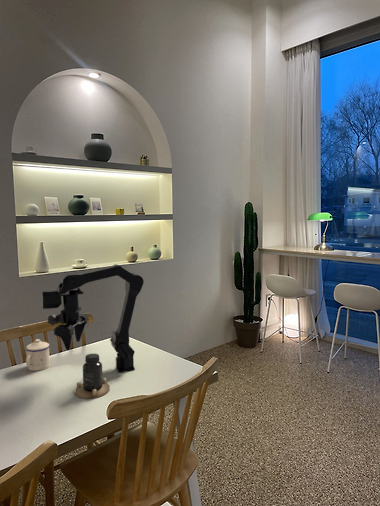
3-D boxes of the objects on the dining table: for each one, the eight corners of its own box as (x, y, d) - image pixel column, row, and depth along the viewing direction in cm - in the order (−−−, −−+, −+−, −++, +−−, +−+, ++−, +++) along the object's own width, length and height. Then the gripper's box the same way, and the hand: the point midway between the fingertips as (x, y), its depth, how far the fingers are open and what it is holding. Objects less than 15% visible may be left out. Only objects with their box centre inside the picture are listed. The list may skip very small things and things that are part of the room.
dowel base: (106, 381, 149) (106, 374, 149) (112, 395, 138) (112, 388, 138) (74, 386, 145) (73, 379, 145) (77, 401, 134) (76, 394, 134)
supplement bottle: (106, 387, 142) (106, 355, 140) (90, 394, 137) (89, 361, 135) (95, 381, 146) (94, 350, 145) (79, 388, 141) (78, 355, 140)
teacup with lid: (36, 361, 169) (34, 335, 167) (55, 363, 166) (53, 336, 165) (17, 373, 157) (15, 345, 156) (37, 375, 155) (35, 346, 153)
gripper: (61, 299, 159) (64, 336, 161) (38, 312, 141) (41, 354, 143) (88, 300, 158) (90, 337, 160) (68, 313, 140) (70, 355, 141)
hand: (73, 345), depth 151 cm, fingers open, 9 cm apart
